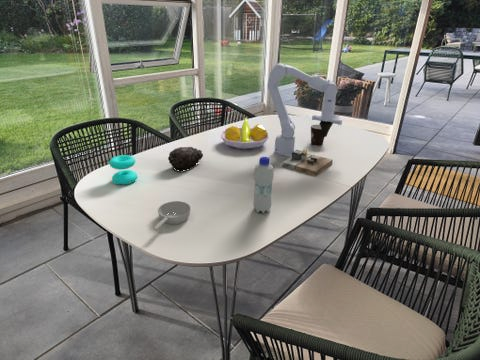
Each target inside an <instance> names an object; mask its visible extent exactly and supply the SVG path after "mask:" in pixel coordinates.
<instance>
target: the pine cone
mask: <svg viewBox="0 0 480 360" xmlns="http://www.w3.org/2000/svg"><path fill="white" fill-rule="evenodd" d="M202 152H203V151H202V150H201V149H197V147H195V148H194V147H193V146H186V147H185V146H182V147H176V148H174V149H173V150H171V151H170V152H169V156H168V157H167V160H168V161H169V164H170V165H171V167H172V168H173V167H174V168H175V169H176V170H179V171H183V170H187V169H189V170H191V169H193V168H195V167H196V163H198V162H200V161H201V160H202V158H203V157H204V154H203V153H202ZM194 166H195V167H194ZM192 167H193V168H192ZM190 168H191V169H190ZM187 171H188V170H187ZM183 172H184V171H183Z"/></svg>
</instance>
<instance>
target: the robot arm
mask: <svg viewBox="0 0 480 360" xmlns="http://www.w3.org/2000/svg"><path fill="white" fill-rule="evenodd" d="M284 77H285V78H290V77H294V78H295V79H298V80H300V81H303V82H306V83H307V84H308V87H310V88H312V89H314V90H316V91H319V92H321V93H324V94H323V95H324V96H323V99H322V105H321V106H322V107H321V115H316V114H314V115H312V117H311V120H312V121H320V122H319V124H318V125H320V126H321V129H322V136H323V137H324V138H326V137H327V136H328V133H329V131H330V130H331V128H332V126H333V124H337V125H338V126H341V125H342V124H343V119H339V118H336V117H334V116H335V107H336V101H337V100H336V98H337V95H338V92H339V90H338V86H337V84H336V82H333V81H331V80H330V79H326V78H324V77H321V75H320V74H314V75H309V74H308V73H306V72H305V71H302V70H300V69H298V68H296V67H295V66H291V65H289V64H285V63H283V62H277V63H276V64H275V65H274V66H273V67H272V69H271V71H270V72H269V76H268V81H267V89H268V92H269V95H270V98H271V100H272V102H273V106H274V108H275V111H276V114H277V118H278V120H279V123H280V127H281V128H280V129H281V133H280V134H278V135H277V136H276V137H275V139H274V151H273V153H274V154H277V155H281V156H285V157H288V158H291V157H292V152H294V151H295V141H296V140H295V139H296V136H295V129H296V125H295V123H294V122H293V121H292V119H291V117H290V115H289V112H288V109H287V107H286V105H285V102H284V99H283V96H282V93H281V90H280V88H279V84H280V82H281V81H282V80H283V78H284Z"/></svg>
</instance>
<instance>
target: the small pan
mask: <svg viewBox="0 0 480 360" xmlns="http://www.w3.org/2000/svg"><path fill="white" fill-rule="evenodd" d="M173 212H174V213H173ZM157 213H158V217H159V219H160V221H159V222H157V224H156V225H155V226H154V227H153V230H154V231H155V230H158V229H159V228H160V227H161V226H162V225H164V223H165V224H167V225H179V224H183V223H184V222H186V221H187V219H188V218H189V217H190V215H191V206H190V204H189V203H187V202H185V201H178V200H177V201H176V200H175V201H174V200H173V201H168V202H166V203H163V204H161V205H160V206H159V207H158V208H157ZM168 213H169V214H168ZM175 213H176V214H175ZM167 214H168V215H167ZM174 214H175V215H174Z"/></svg>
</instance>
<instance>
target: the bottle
mask: <svg viewBox="0 0 480 360" xmlns="http://www.w3.org/2000/svg"><path fill="white" fill-rule="evenodd" d="M270 162H271V161H270V158H269V157H267V156H261V157H259V160H258V163H257V164H256V165H255V166H254V171H253V173H254V174H253V180H254V192H253V195H254V197H253V209H254V211H256V212H257V213H260V212H261V213H262V214H265V212H266V213H269V212H270V210H271V207H272V190H273V181H274V167H273V165H271V163H270Z"/></svg>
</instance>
